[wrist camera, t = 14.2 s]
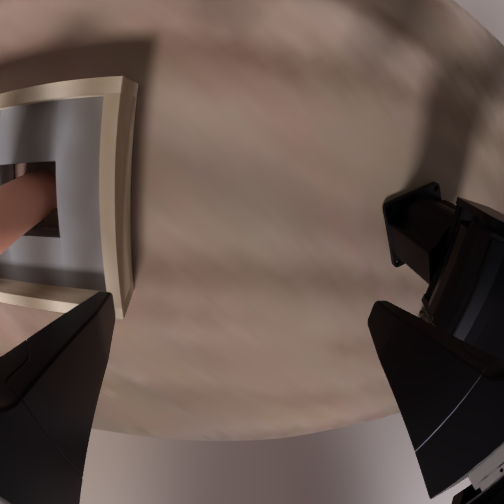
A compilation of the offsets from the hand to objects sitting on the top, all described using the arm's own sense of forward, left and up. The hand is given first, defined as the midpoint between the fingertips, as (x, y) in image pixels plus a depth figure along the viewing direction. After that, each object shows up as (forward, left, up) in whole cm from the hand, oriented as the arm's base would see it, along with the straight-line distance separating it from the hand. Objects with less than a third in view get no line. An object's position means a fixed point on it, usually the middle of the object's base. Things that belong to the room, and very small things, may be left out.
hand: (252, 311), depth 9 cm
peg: (-13, +7, -13) cm, 20 cm away
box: (-13, +7, -13) cm, 20 cm away
